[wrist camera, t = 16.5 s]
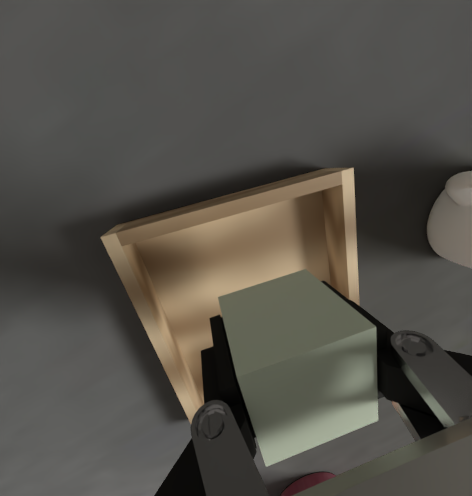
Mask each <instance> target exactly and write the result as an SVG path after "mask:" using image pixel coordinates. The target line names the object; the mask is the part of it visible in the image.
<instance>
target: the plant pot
mask: <svg viewBox="0 0 472 496" xmlns="http://www.w3.org/2000/svg"><path fill="white" fill-rule="evenodd" d="M333 477H335V475H334V474H331V473H328V472H319V473H313V474H310V475H307V476H304V477H302V478H300V479H298V480H297V481H295V482H294V483H292V484H291V485H290V486H288V487H287V488H286V489H285V490H284V491H283V493H282V494H281V496H292V495H294V494H297V493H299V492H301V491H304V490H306V489H308V488H310V487H313V486H315V485H317V484H319V483H322V482H324V481H326V480H328V479H331V478H333Z"/></svg>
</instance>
